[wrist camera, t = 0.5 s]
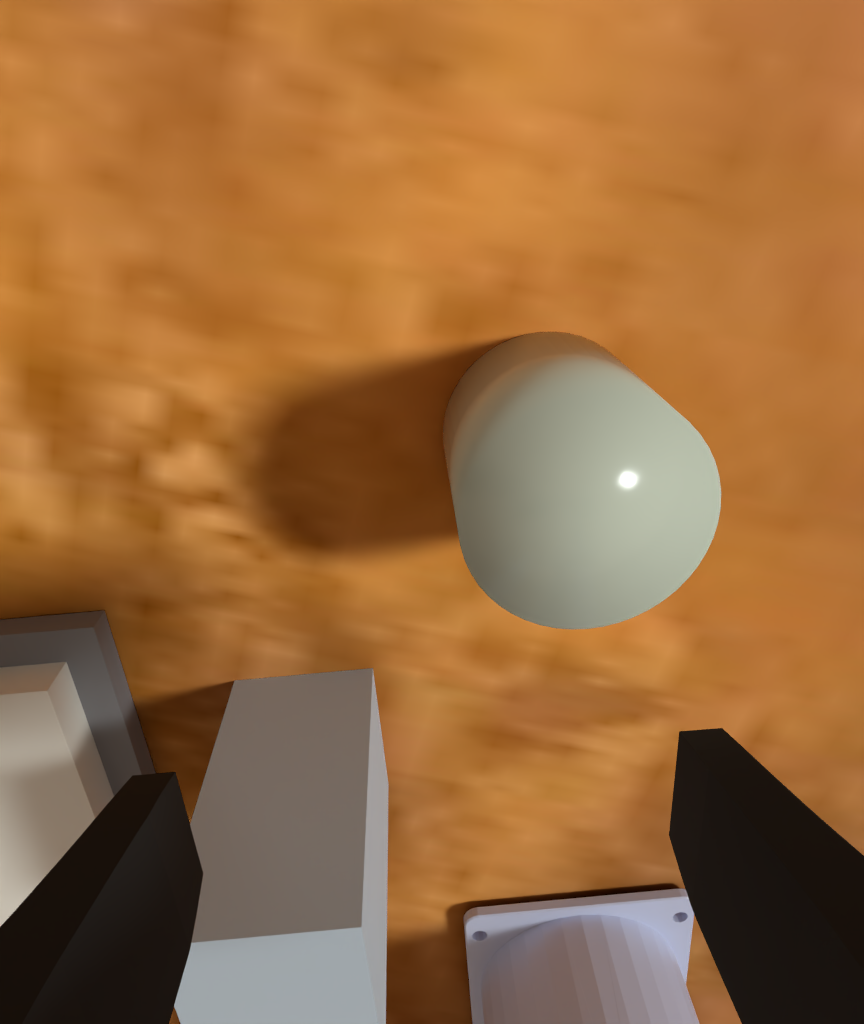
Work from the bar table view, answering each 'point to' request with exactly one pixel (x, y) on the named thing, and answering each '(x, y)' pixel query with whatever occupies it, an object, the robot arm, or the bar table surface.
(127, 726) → the display podium
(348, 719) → the carton
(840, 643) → the bar table surface
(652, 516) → the grey cylinder
